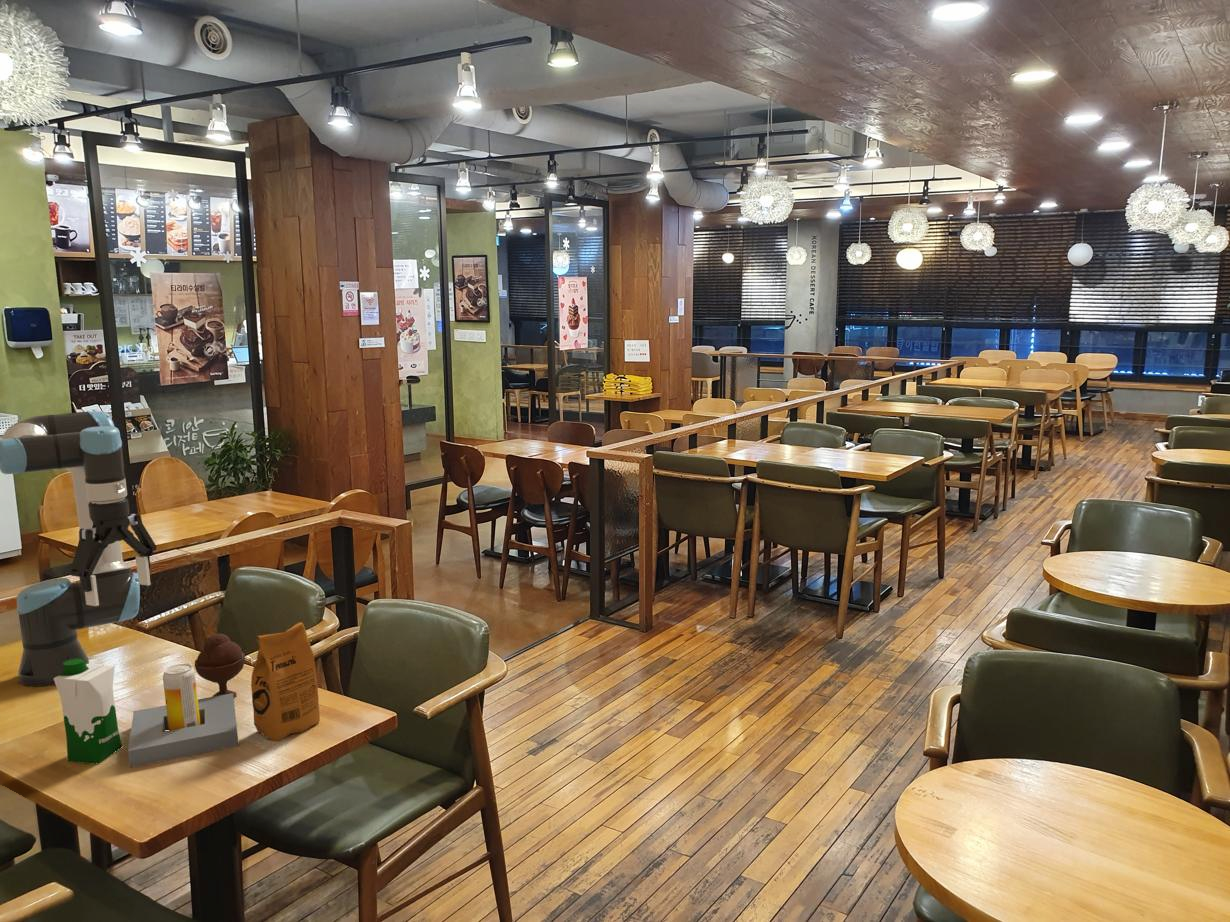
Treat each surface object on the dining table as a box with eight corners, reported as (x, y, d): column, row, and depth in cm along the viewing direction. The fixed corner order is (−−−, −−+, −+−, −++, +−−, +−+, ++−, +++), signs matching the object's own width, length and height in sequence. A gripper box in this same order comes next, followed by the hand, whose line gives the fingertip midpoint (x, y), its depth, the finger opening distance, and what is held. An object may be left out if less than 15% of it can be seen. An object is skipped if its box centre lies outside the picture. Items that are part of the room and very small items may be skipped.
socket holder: (135, 726, 201) (133, 711, 200) (234, 707, 209) (233, 693, 208) (130, 767, 183) (127, 751, 182) (238, 745, 191) (237, 729, 190)
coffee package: (248, 731, 197) (238, 633, 193) (301, 711, 206) (293, 616, 203) (272, 745, 191) (262, 643, 187) (326, 723, 200) (318, 626, 196)
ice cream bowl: (188, 706, 210) (180, 643, 208) (219, 686, 221) (213, 626, 218) (228, 709, 208) (222, 646, 205) (258, 689, 219) (252, 628, 216)
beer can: (189, 726, 200) (181, 661, 198) (207, 732, 197) (200, 666, 195) (163, 738, 195) (155, 671, 192) (182, 744, 192) (174, 676, 189)
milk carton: (92, 743, 194) (80, 652, 190) (130, 746, 192) (118, 654, 188) (60, 763, 185) (46, 669, 182) (99, 767, 184) (86, 672, 180)
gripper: (69, 515, 184) (82, 616, 189) (167, 487, 207) (177, 578, 212) (41, 512, 187) (55, 612, 191) (141, 485, 210) (151, 574, 214)
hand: (119, 594), depth 201 cm, fingers open, 13 cm apart
